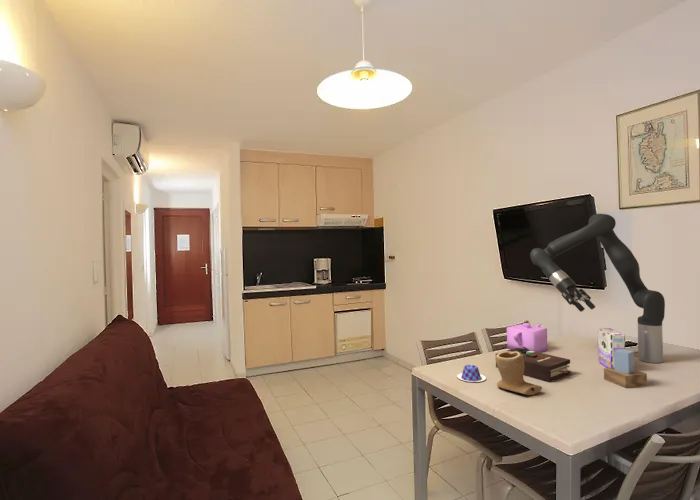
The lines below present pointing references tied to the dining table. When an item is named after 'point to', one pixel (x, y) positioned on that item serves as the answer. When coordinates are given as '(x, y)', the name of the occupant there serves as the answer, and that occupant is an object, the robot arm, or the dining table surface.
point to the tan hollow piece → (514, 373)
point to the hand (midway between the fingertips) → (588, 309)
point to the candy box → (609, 345)
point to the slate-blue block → (624, 361)
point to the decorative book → (543, 365)
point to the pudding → (471, 374)
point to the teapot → (527, 337)
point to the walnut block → (625, 378)
